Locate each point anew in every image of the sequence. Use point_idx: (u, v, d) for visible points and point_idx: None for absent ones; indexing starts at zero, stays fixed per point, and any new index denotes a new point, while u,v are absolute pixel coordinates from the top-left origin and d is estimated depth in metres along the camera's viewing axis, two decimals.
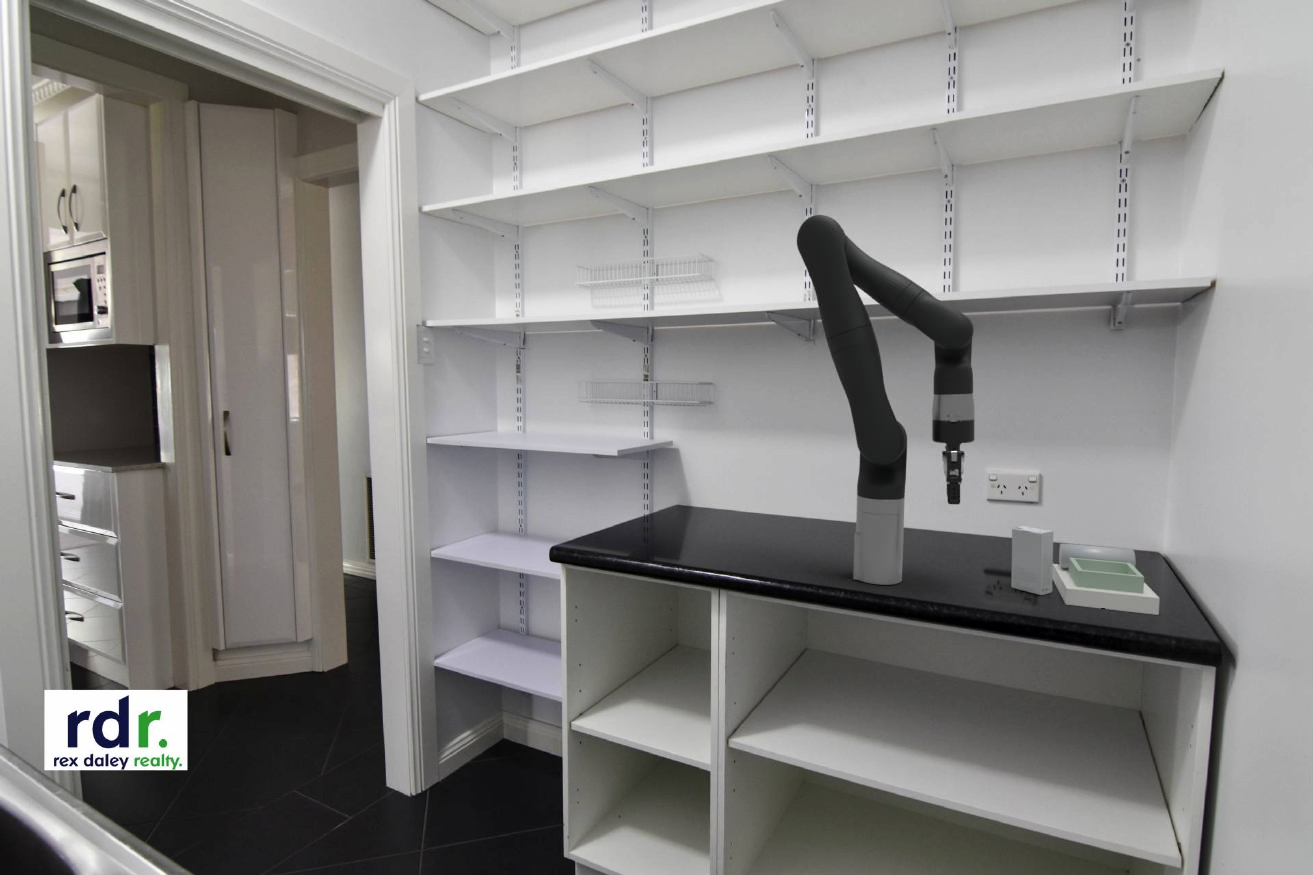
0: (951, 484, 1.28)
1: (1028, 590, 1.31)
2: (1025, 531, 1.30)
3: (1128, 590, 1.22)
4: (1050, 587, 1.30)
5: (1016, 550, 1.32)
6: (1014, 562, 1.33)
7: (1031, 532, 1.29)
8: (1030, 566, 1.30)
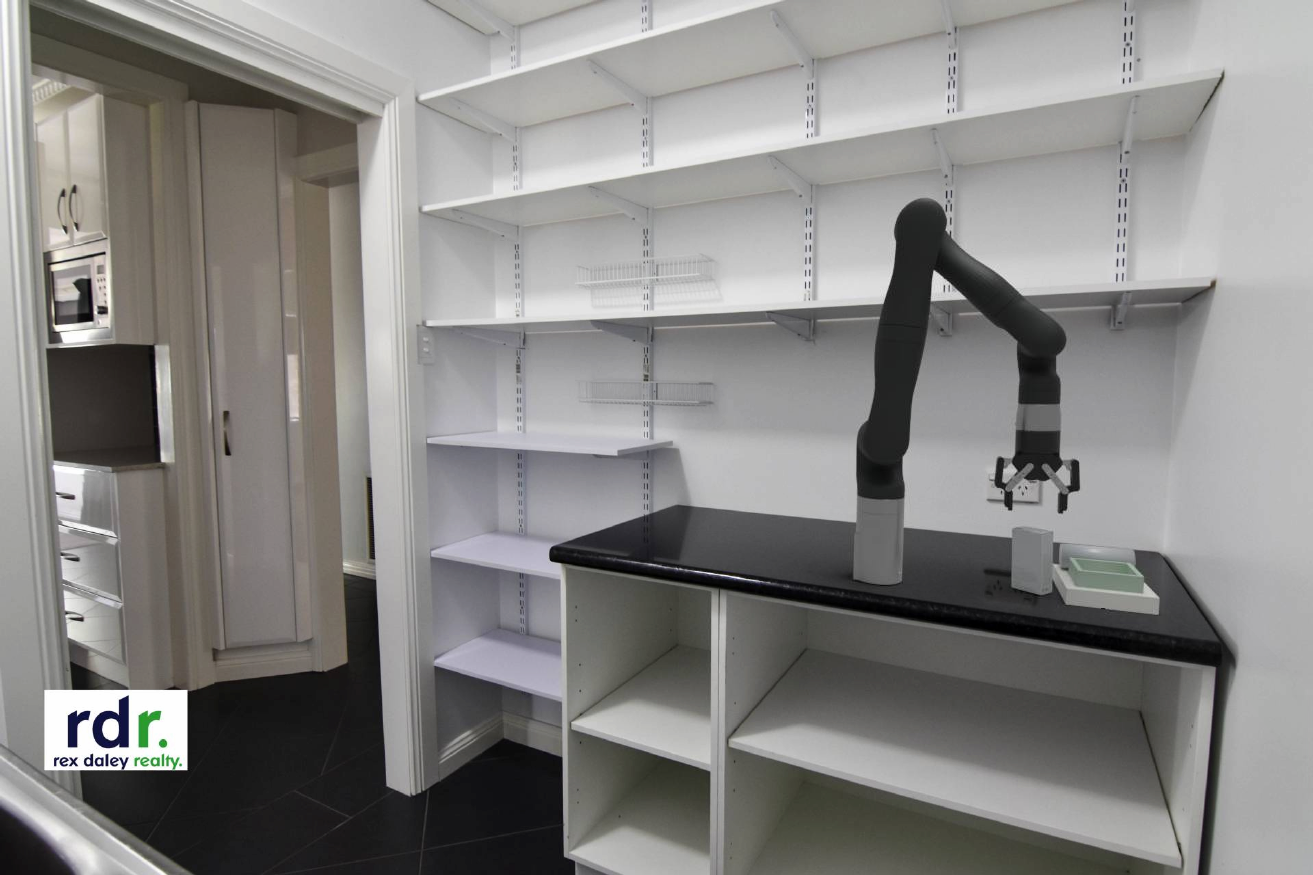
0: None
1: (1028, 590, 1.31)
2: (1025, 531, 1.30)
3: (1128, 590, 1.22)
4: (1050, 587, 1.30)
5: (1016, 550, 1.32)
6: (1014, 562, 1.33)
7: (1031, 532, 1.29)
8: (1030, 566, 1.30)
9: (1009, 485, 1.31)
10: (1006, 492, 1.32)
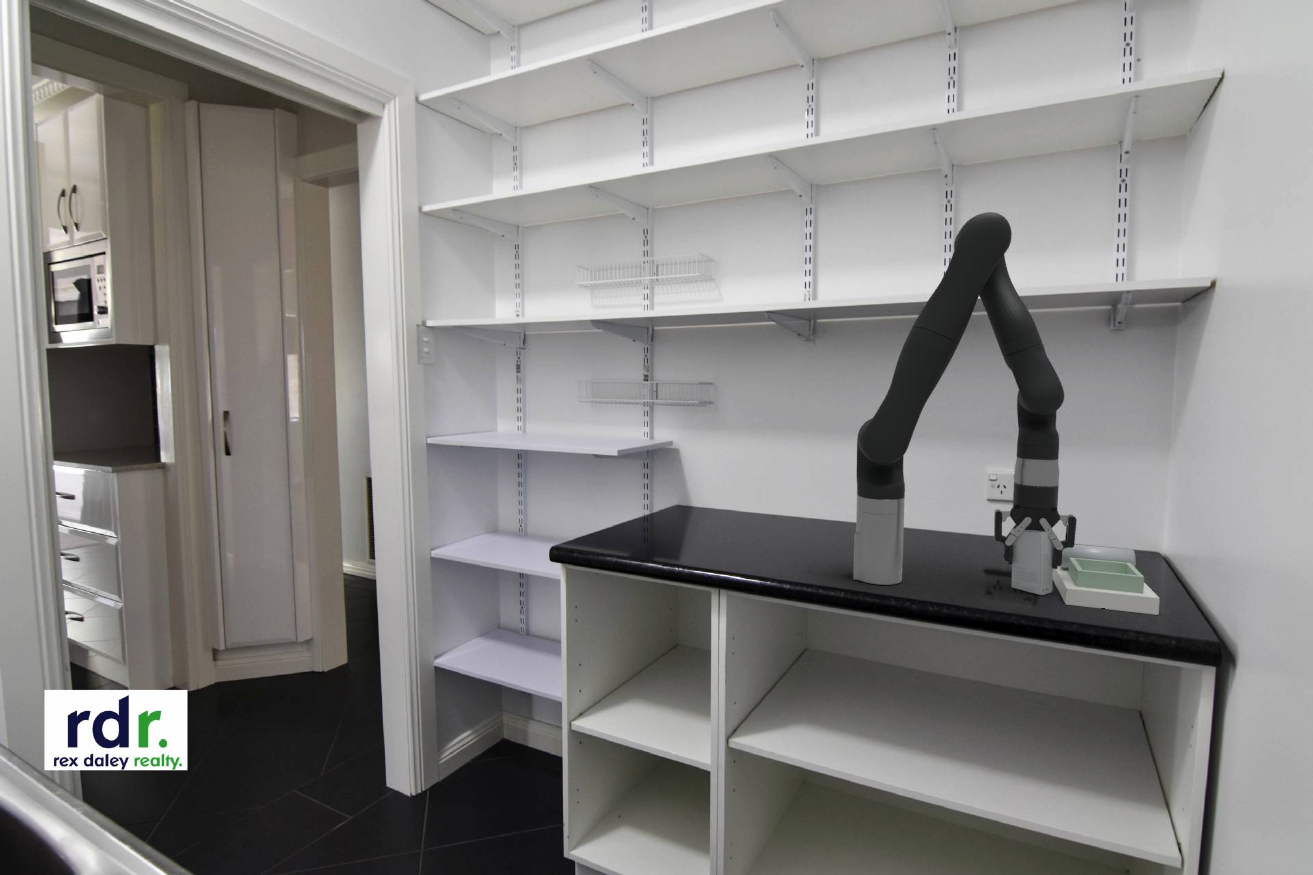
0: None
1: (1028, 590, 1.31)
2: (1025, 531, 1.30)
3: (1128, 590, 1.22)
4: (1050, 587, 1.30)
5: (1016, 550, 1.32)
6: (1014, 562, 1.33)
7: (1031, 532, 1.29)
8: (1030, 566, 1.30)
9: (1009, 539, 1.32)
10: (1006, 546, 1.33)
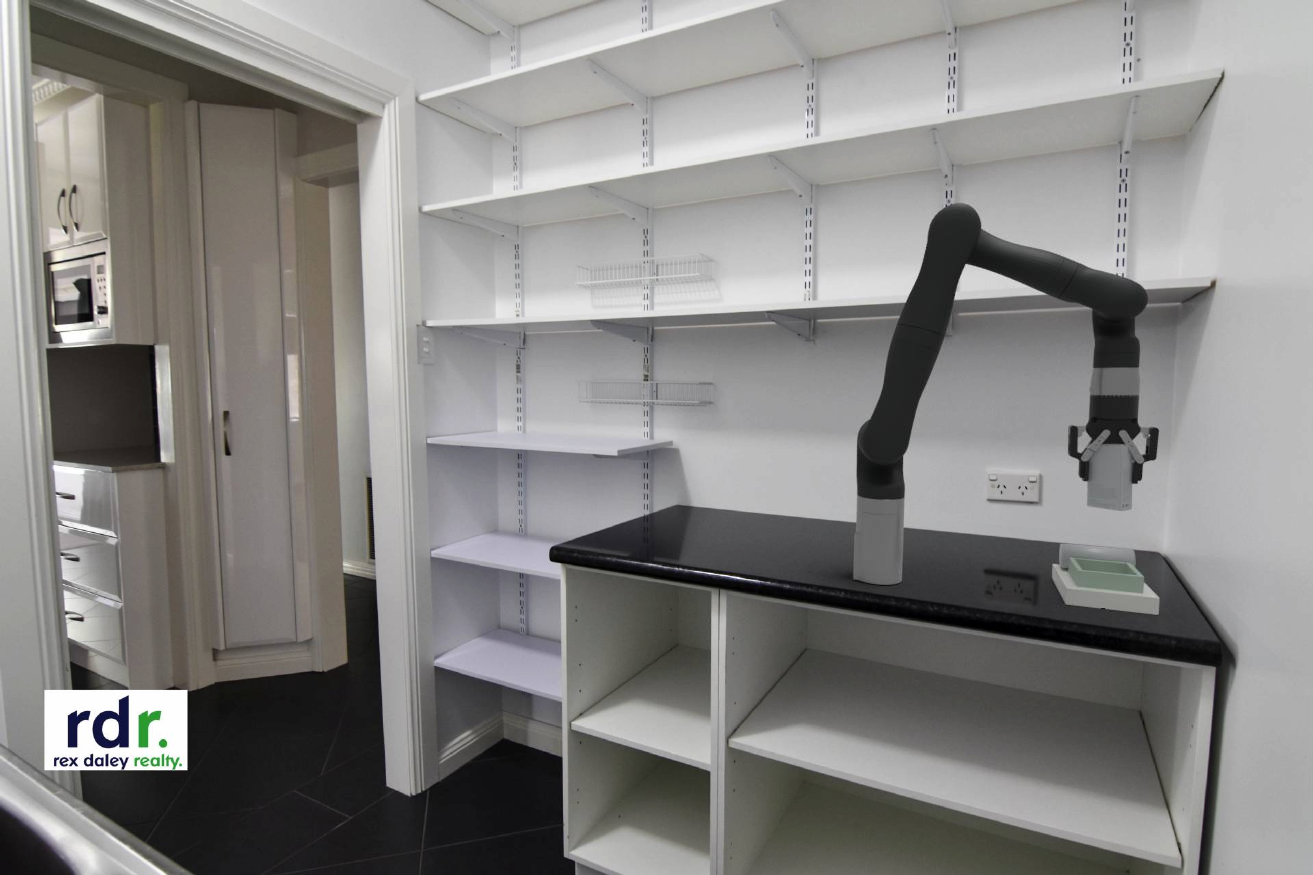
0: (1144, 462, 1.23)
1: (1106, 507, 1.25)
2: (1103, 445, 1.24)
3: (1128, 590, 1.22)
4: (1130, 503, 1.24)
5: (1092, 466, 1.26)
6: (1090, 479, 1.27)
7: (1110, 445, 1.23)
8: (1108, 481, 1.24)
9: (1085, 455, 1.26)
10: (1082, 462, 1.27)
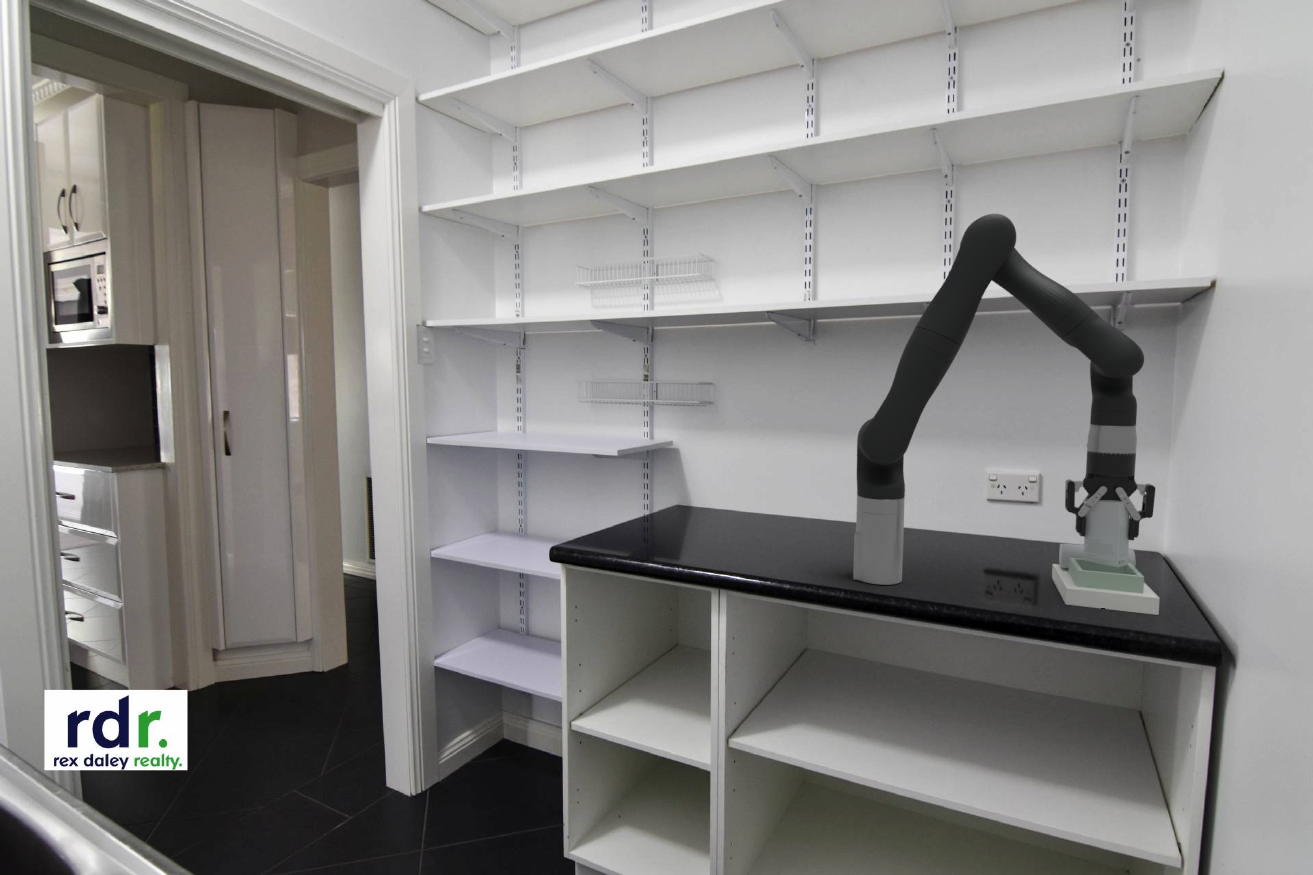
0: (1140, 519, 1.24)
1: (1103, 562, 1.25)
2: (1100, 501, 1.25)
3: (1128, 590, 1.22)
4: (1126, 559, 1.25)
5: (1089, 521, 1.27)
6: (1087, 534, 1.28)
7: (1107, 502, 1.24)
8: (1105, 537, 1.25)
9: (1082, 510, 1.27)
10: (1079, 517, 1.27)
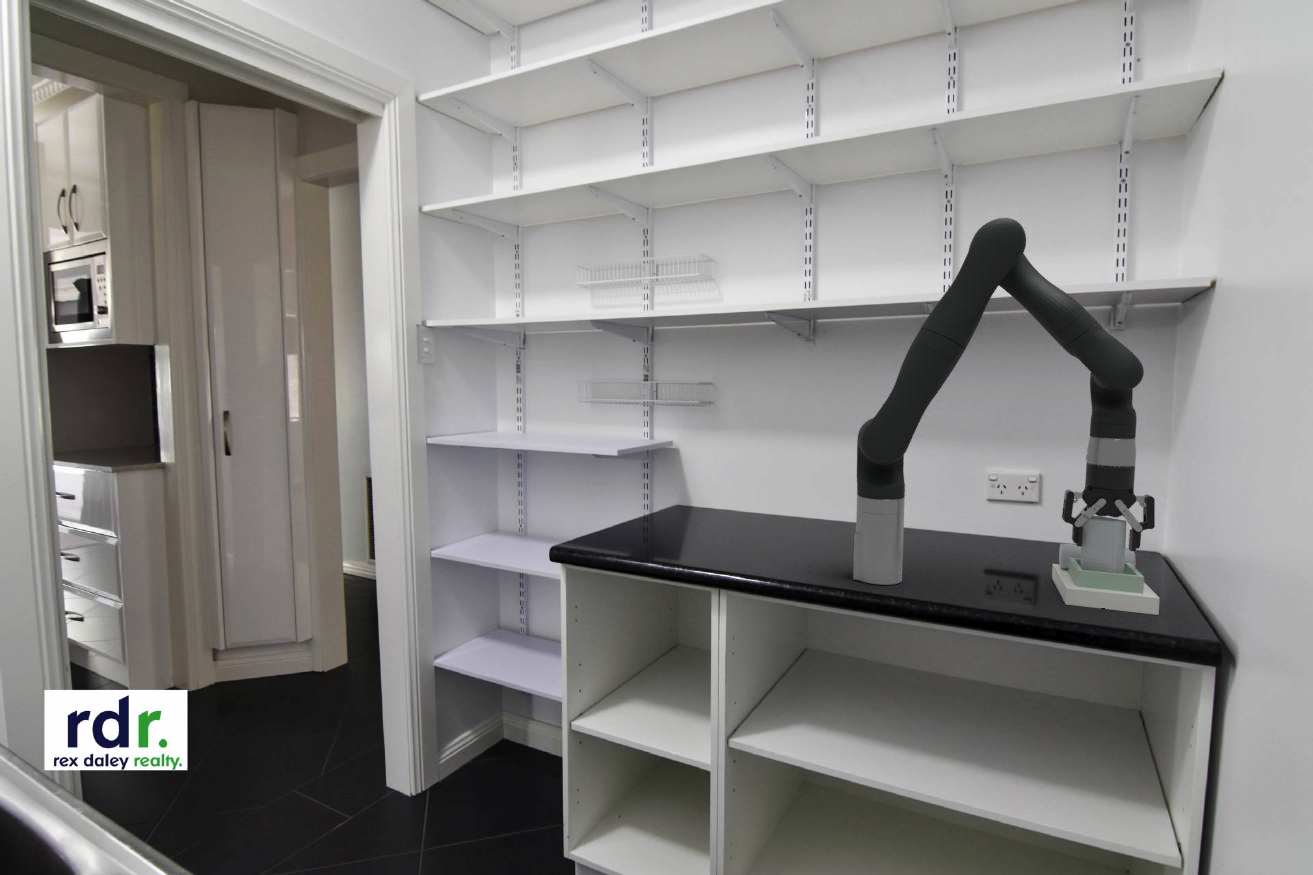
0: (1142, 530, 1.24)
1: None
2: (1097, 520, 1.26)
3: (1128, 590, 1.22)
4: None
5: (1086, 540, 1.27)
6: (1083, 552, 1.28)
7: (1103, 521, 1.25)
8: (1101, 556, 1.25)
9: (1079, 520, 1.27)
10: (1075, 527, 1.28)
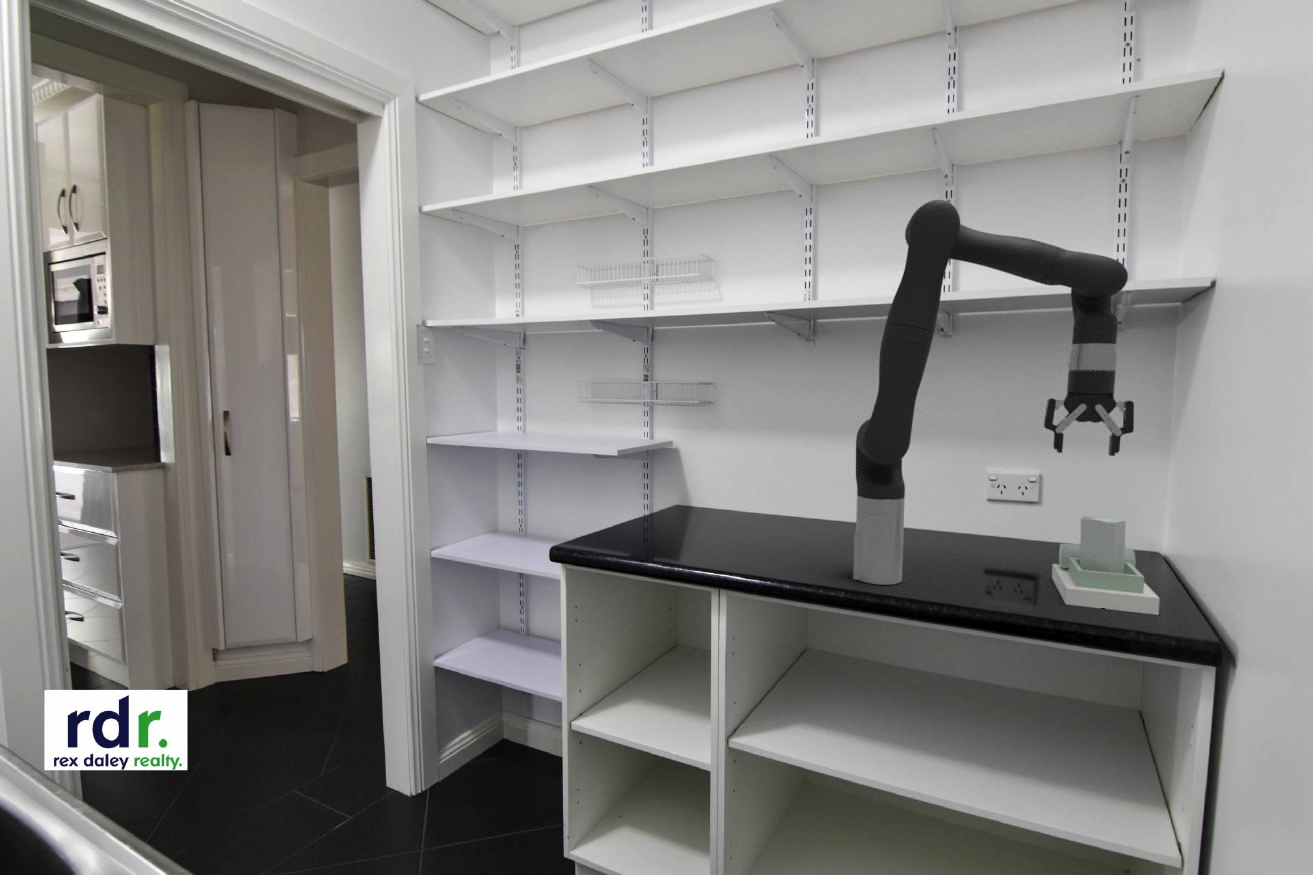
0: (1121, 435, 1.27)
1: None
2: (1096, 520, 1.26)
3: (1128, 590, 1.22)
4: None
5: (1085, 540, 1.28)
6: (1083, 553, 1.28)
7: (1102, 521, 1.25)
8: (1101, 557, 1.25)
9: (1060, 427, 1.30)
10: (1056, 434, 1.31)
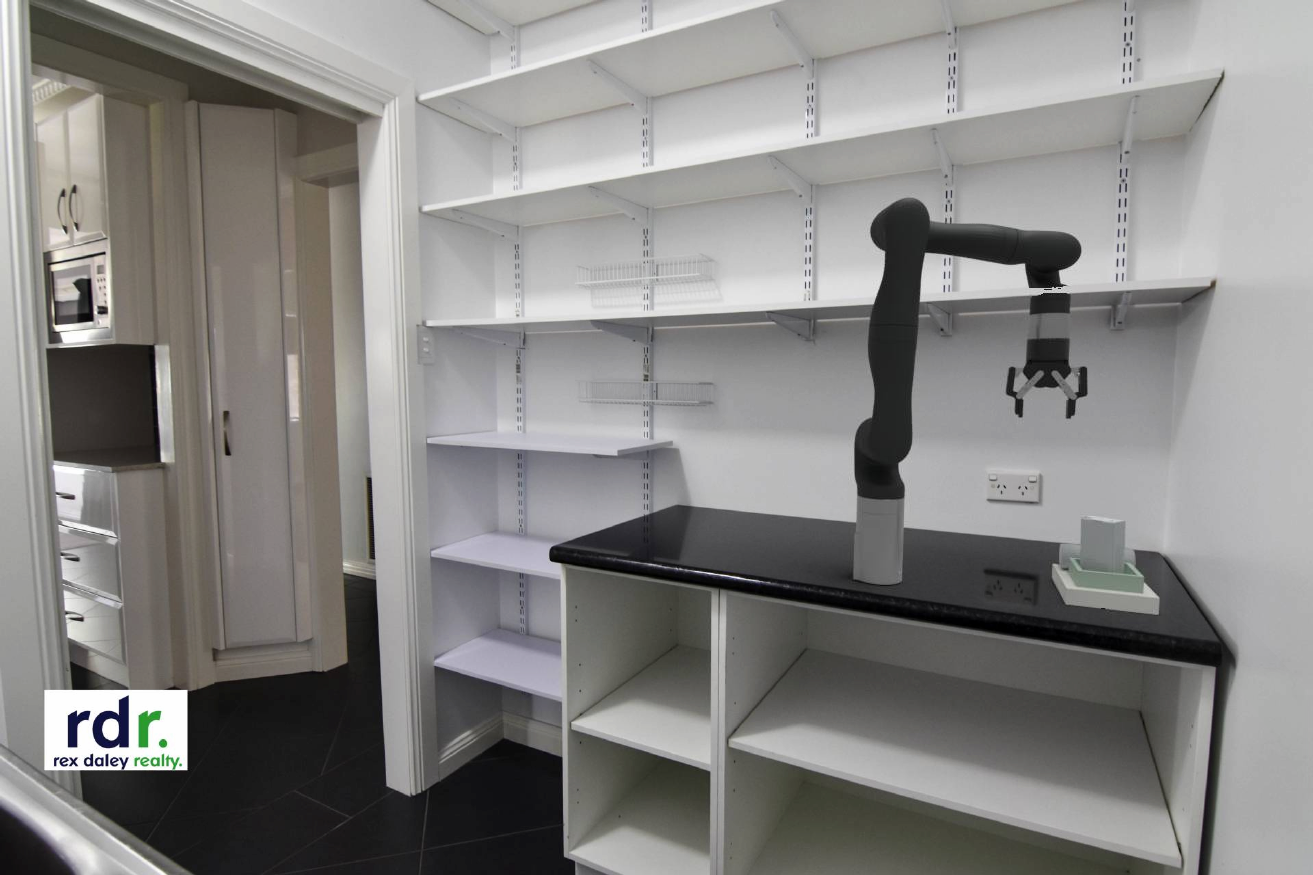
0: None
1: None
2: (1096, 520, 1.26)
3: (1128, 590, 1.22)
4: None
5: (1085, 540, 1.28)
6: (1083, 553, 1.28)
7: (1102, 521, 1.25)
8: (1101, 557, 1.25)
9: (1020, 393, 1.38)
10: (1017, 400, 1.39)
